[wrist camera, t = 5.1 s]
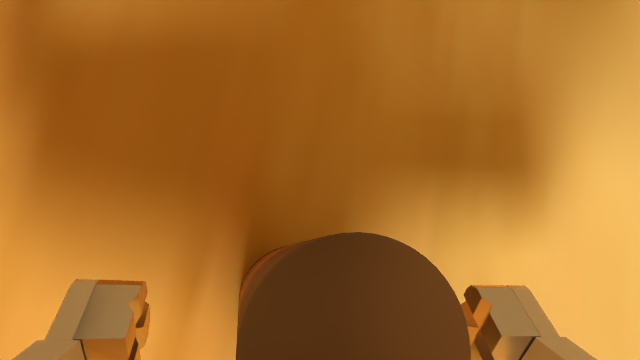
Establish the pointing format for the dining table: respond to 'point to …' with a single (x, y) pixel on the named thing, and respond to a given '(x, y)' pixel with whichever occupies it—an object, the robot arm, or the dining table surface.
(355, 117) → the dining table surface
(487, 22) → the dining table surface
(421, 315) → the walnut peg
